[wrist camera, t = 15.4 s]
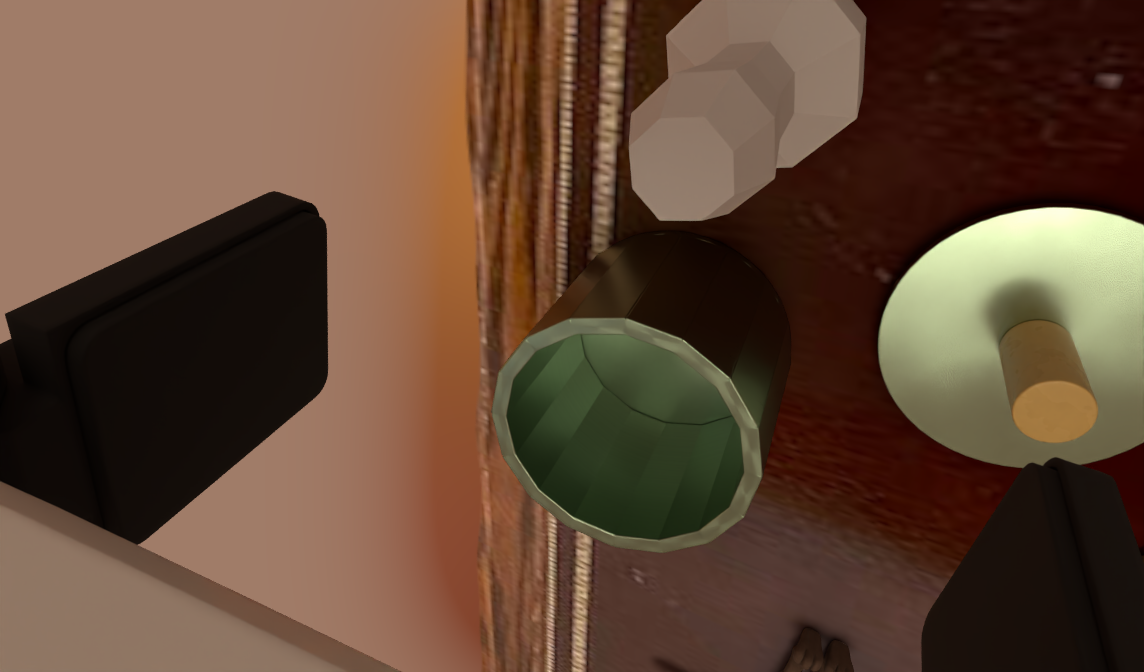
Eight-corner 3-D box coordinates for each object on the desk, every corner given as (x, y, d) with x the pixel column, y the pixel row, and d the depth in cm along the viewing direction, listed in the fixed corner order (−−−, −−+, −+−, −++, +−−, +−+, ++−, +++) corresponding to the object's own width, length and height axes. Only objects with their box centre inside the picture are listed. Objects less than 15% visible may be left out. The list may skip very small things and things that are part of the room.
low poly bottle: (706, -10, 35) (492, 84, 17) (850, -80, 32) (778, -57, 14) (754, 123, 37) (610, 336, 19) (894, 69, 33) (883, 263, 16)
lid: (952, 158, 34) (960, 206, 29) (1290, 258, 32) (1370, 332, 26) (836, 395, 42) (826, 470, 36) (1102, 493, 39) (1134, 590, 33)
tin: (595, 199, 41) (514, 277, 33) (827, 277, 39) (804, 384, 30) (553, 384, 48) (477, 488, 40) (747, 460, 46) (711, 590, 37)
